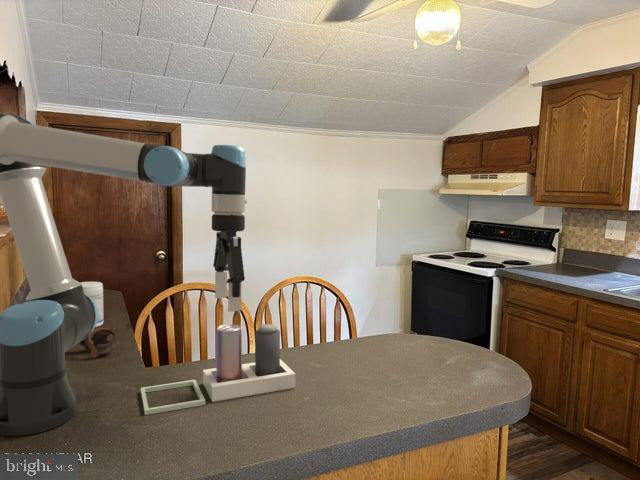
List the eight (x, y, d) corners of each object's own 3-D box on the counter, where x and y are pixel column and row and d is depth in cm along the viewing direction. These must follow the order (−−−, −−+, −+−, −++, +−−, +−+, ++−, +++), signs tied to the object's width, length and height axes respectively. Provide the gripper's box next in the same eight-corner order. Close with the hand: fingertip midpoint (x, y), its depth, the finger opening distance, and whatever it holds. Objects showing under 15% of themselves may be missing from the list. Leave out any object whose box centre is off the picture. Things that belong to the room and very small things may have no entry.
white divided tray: (212, 401, 106) (212, 386, 106) (203, 383, 116) (202, 369, 116) (295, 387, 114) (295, 373, 114) (280, 371, 124) (280, 358, 124)
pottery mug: (123, 348, 143) (124, 328, 139) (109, 372, 135) (110, 352, 131) (83, 338, 142) (83, 318, 137) (67, 362, 134) (66, 341, 129)
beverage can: (211, 390, 112) (210, 328, 110) (227, 381, 117) (226, 322, 116) (231, 396, 109) (230, 332, 108) (246, 386, 114) (246, 326, 113)
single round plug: (259, 389, 113) (259, 331, 112) (252, 380, 118) (252, 324, 117) (283, 385, 116) (283, 328, 114) (275, 376, 121) (275, 322, 120)
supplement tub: (66, 327, 161) (65, 285, 160) (89, 320, 170) (87, 280, 169) (88, 330, 158) (87, 287, 157) (110, 323, 167) (109, 282, 165)
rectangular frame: (144, 415, 99) (144, 410, 99) (140, 391, 111) (140, 387, 111) (205, 404, 105) (205, 400, 104) (195, 383, 116) (195, 379, 116)
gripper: (260, 217, 99) (258, 315, 101) (231, 211, 122) (230, 292, 124) (224, 216, 96) (223, 318, 98) (201, 210, 119) (201, 293, 121)
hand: (227, 304), depth 111 cm, fingers open, 13 cm apart
